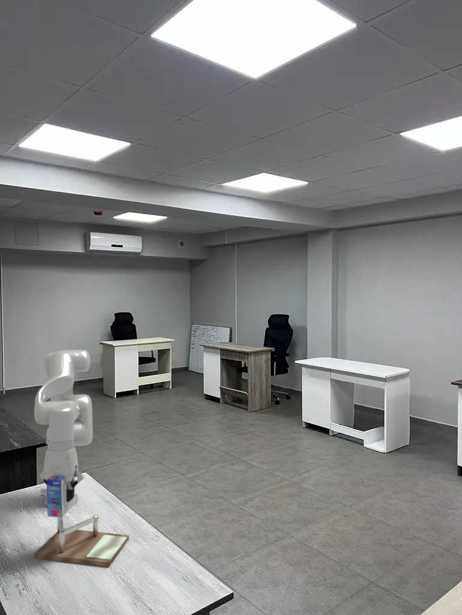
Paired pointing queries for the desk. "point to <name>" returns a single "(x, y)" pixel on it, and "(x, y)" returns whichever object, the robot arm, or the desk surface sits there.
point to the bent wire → (64, 532)
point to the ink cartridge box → (58, 497)
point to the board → (84, 548)
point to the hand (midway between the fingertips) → (61, 498)
